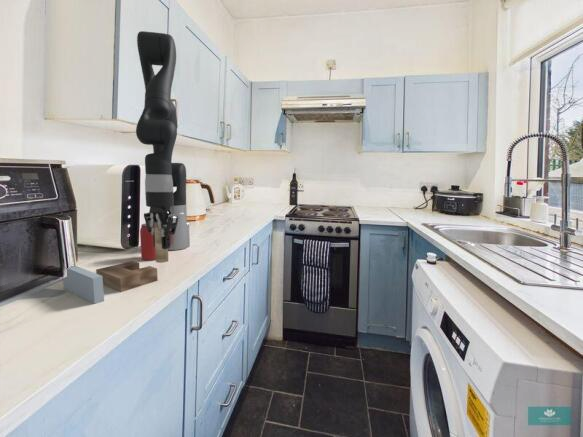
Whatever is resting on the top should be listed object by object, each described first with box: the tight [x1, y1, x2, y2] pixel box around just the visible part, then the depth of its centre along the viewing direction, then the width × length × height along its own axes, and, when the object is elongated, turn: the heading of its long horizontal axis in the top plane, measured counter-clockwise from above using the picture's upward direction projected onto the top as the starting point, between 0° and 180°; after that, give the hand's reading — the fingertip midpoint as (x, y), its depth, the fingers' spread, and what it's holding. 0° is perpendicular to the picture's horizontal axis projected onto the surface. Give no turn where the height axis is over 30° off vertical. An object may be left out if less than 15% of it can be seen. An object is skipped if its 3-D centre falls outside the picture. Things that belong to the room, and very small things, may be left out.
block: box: [95, 260, 158, 293], centre depth 82 cm, size 10×12×4 cm
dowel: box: [154, 222, 169, 264], centre depth 90 cm, size 4×4×12 cm
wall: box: [62, 264, 105, 305], centre depth 72 cm, size 2×16×6 cm, turn 58°
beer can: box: [139, 222, 156, 261], centre depth 103 cm, size 7×7×12 cm
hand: (161, 247), depth 90 cm, fingers closed on dowel, 3 cm apart
